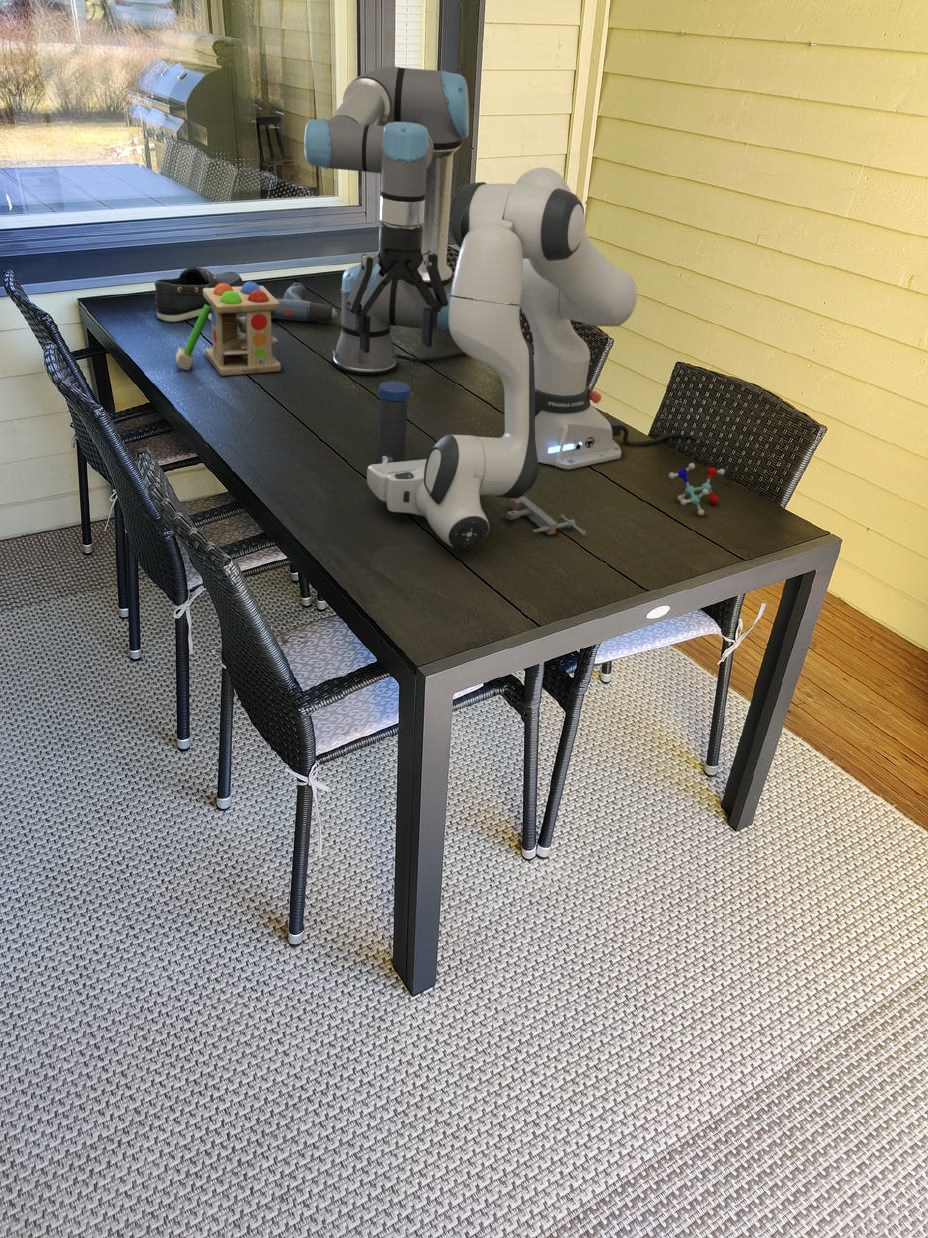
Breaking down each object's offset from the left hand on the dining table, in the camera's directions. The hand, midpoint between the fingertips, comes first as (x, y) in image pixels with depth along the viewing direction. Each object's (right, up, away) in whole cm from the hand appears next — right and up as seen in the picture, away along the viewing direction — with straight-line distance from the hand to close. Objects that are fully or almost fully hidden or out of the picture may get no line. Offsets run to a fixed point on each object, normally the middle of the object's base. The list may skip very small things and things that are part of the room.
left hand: (395, 347), depth 180 cm
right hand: (+2, -20, +2) cm, 20 cm away
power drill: (-31, +33, +87) cm, 98 cm away
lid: (0, -6, +4) cm, 8 cm away
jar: (-2, -20, +13) cm, 24 cm away
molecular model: (+57, -28, +10) cm, 64 cm away
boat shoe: (-58, +34, +84) cm, 108 cm away
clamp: (+26, -33, -2) cm, 42 cm away
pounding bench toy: (-43, +10, +50) cm, 67 cm away
